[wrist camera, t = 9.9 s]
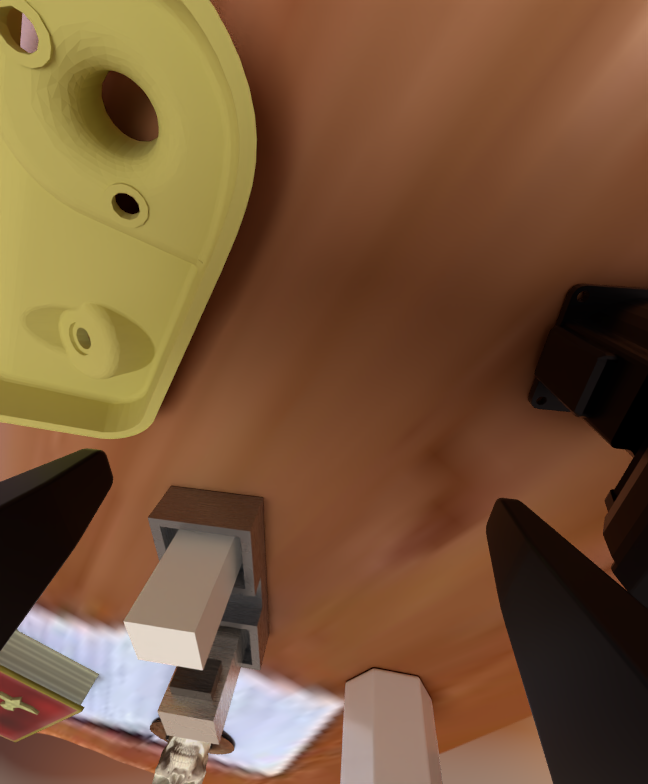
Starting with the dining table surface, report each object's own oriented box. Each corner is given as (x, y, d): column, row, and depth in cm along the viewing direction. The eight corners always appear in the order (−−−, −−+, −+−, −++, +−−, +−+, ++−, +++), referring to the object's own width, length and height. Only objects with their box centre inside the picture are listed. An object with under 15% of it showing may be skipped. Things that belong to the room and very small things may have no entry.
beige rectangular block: (238, 526, 24) (194, 632, 18) (243, 572, 27) (205, 680, 21) (184, 519, 25) (123, 621, 18) (193, 565, 27) (142, 669, 21)
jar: (389, 716, 38) (397, 908, 28) (331, 686, 37) (316, 878, 26) (449, 692, 34) (484, 904, 24) (387, 658, 33) (396, 869, 22)
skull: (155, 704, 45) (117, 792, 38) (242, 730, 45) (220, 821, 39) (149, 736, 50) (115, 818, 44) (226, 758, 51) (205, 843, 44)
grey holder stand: (262, 497, 25) (217, 620, 17) (268, 633, 33) (239, 756, 26) (170, 485, 25) (87, 599, 18) (199, 623, 34) (151, 739, 26)
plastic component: (143, 445, 21) (-95, 407, 16) (156, 367, 26) (-19, 318, 21) (311, 75, 11) (-196, -378, 6) (280, 66, 16) (-1, -176, 11)
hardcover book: (-38, 668, 48) (-73, 706, 44) (16, 622, 39) (-21, 664, 36) (39, 706, 51) (13, 745, 47) (105, 670, 42) (80, 714, 39)
